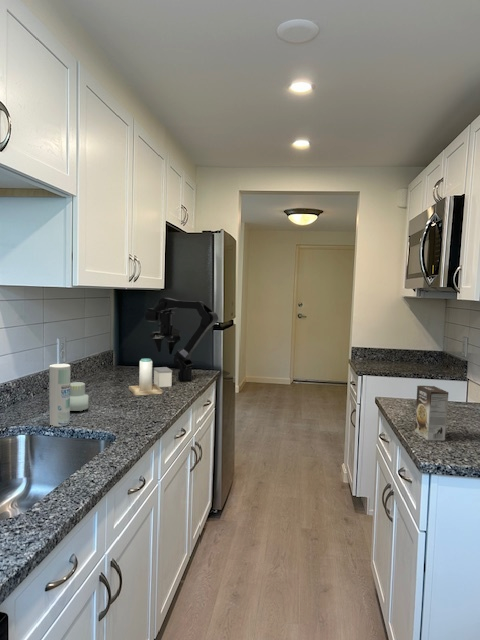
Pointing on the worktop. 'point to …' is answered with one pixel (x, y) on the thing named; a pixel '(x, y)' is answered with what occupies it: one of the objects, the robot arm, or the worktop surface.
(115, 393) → the worktop surface
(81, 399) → the air freshener
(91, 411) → the worktop surface
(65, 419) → the spray can
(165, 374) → the box
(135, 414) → the worktop surface
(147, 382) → the cartridge
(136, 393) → the refill tray
